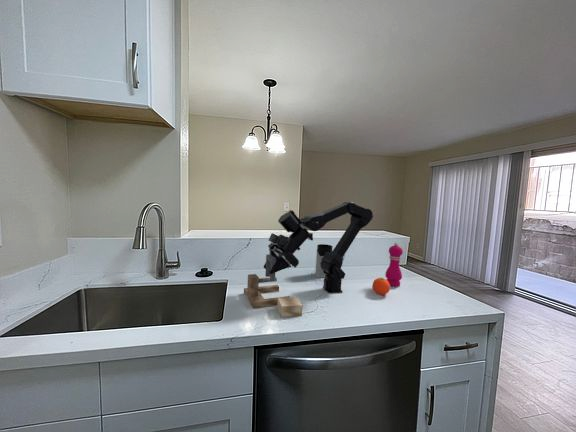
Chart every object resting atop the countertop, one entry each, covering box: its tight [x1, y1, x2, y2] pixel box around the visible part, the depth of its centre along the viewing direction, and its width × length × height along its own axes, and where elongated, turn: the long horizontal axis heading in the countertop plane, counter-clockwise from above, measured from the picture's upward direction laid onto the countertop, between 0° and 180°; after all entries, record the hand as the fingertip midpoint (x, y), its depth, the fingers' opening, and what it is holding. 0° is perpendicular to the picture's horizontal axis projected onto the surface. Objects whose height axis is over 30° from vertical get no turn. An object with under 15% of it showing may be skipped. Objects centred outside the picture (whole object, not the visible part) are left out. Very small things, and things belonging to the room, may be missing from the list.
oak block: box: [276, 296, 304, 318], centre depth 87 cm, size 7×7×4 cm
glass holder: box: [313, 243, 346, 279], centre depth 128 cm, size 9×14×15 cm, turn 79°
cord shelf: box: [243, 273, 291, 309], centre depth 97 cm, size 14×14×9 cm
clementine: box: [371, 277, 391, 296], centre depth 107 cm, size 8×7×7 cm
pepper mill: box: [384, 241, 404, 288], centre depth 119 cm, size 7×7×20 cm
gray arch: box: [264, 253, 276, 282], centre depth 96 cm, size 2×6×8 cm, turn 23°
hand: (266, 270), depth 96 cm, fingers closed on gray arch, 6 cm apart
